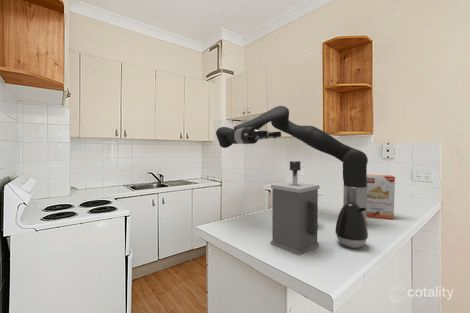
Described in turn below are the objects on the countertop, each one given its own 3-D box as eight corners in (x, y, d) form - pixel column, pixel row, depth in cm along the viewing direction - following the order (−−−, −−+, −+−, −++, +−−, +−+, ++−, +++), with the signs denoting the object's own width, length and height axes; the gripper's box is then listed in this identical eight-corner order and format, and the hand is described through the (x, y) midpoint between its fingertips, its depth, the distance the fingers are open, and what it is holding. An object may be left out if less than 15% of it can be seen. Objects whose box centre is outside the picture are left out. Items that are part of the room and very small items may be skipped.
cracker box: (361, 217, 115) (361, 175, 114) (359, 213, 120) (360, 173, 120) (394, 220, 110) (395, 176, 109) (391, 216, 115) (392, 174, 114)
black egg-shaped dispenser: (353, 253, 75) (354, 207, 74) (329, 242, 84) (329, 200, 84) (375, 248, 79) (375, 203, 78) (349, 237, 88) (349, 198, 88)
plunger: (292, 235, 87) (292, 160, 86) (310, 241, 81) (310, 161, 80) (279, 240, 82) (279, 161, 81) (297, 247, 76) (297, 162, 75)
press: (291, 235, 90) (291, 181, 89) (324, 247, 79) (325, 186, 79) (270, 244, 82) (270, 184, 82) (305, 258, 72) (305, 190, 71)
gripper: (234, 126, 101) (261, 123, 88) (257, 128, 110) (284, 125, 98) (234, 143, 101) (261, 142, 89) (257, 144, 110) (284, 143, 98)
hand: (273, 133), depth 93 cm, fingers open, 8 cm apart
